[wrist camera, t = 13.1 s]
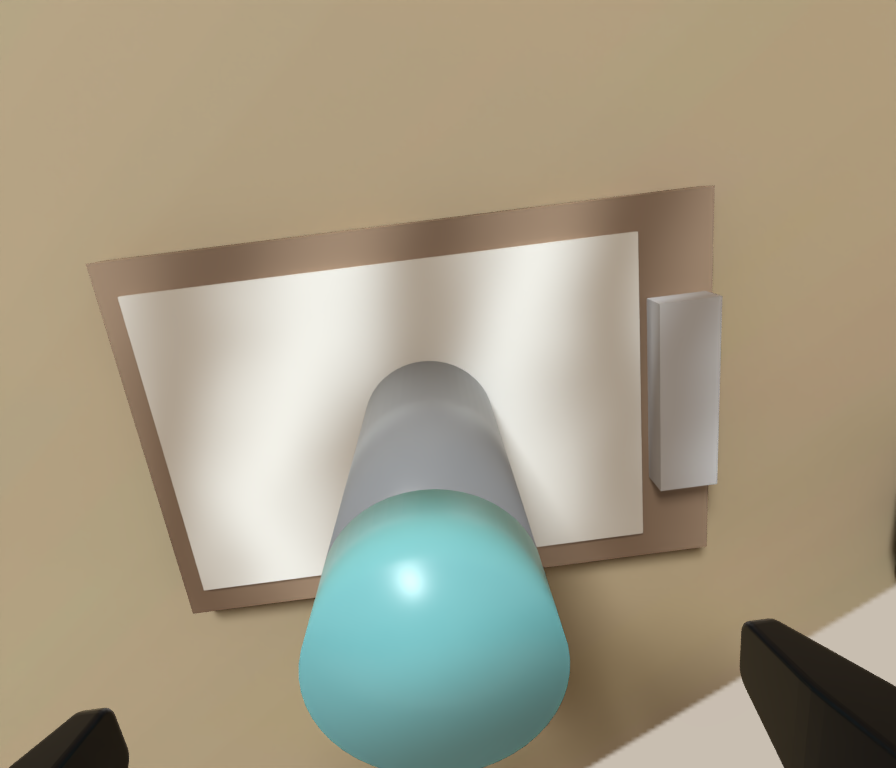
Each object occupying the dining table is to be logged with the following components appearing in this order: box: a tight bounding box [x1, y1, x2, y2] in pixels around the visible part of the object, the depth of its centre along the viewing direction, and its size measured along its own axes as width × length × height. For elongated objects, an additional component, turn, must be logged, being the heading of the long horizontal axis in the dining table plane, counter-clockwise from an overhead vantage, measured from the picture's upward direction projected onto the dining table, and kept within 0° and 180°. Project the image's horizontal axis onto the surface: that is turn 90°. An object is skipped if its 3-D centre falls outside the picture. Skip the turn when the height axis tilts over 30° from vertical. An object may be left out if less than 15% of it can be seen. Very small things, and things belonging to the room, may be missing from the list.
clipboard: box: [86, 186, 722, 614], centre depth 18 cm, size 18×12×2 cm, turn 97°
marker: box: [299, 361, 570, 768], centre depth 13 cm, size 4×4×10 cm
